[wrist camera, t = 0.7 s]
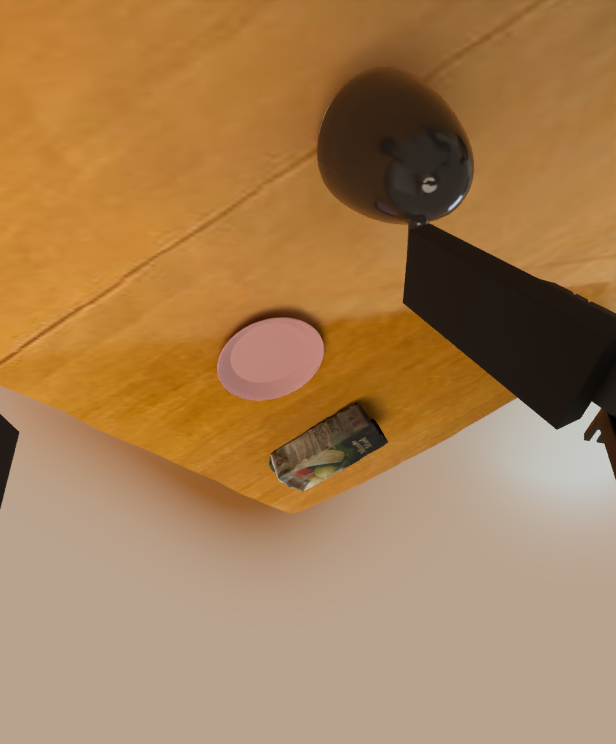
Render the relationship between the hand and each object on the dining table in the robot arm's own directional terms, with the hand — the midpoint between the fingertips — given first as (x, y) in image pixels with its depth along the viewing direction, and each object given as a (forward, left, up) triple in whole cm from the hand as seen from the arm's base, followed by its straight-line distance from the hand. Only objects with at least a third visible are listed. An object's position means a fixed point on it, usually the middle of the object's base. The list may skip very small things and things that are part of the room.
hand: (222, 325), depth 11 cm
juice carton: (-1, +52, -27) cm, 58 cm away
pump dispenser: (-15, +6, -27) cm, 31 cm away
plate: (+1, +27, -27) cm, 38 cm away
